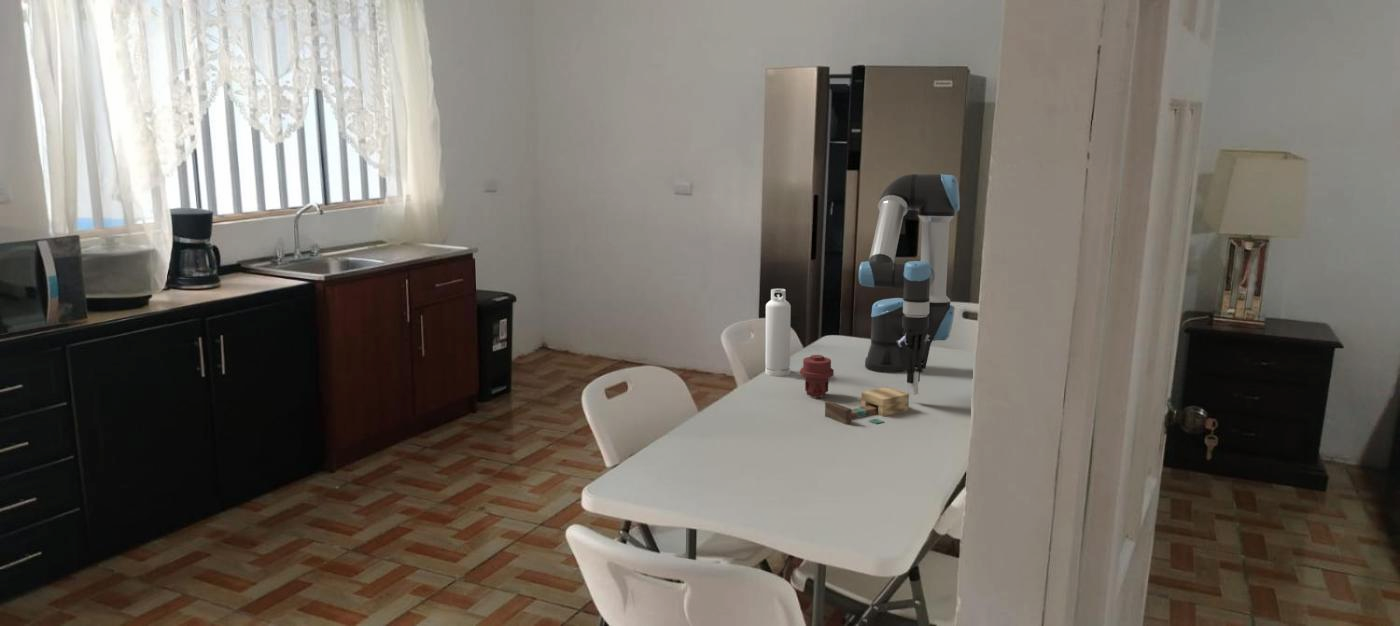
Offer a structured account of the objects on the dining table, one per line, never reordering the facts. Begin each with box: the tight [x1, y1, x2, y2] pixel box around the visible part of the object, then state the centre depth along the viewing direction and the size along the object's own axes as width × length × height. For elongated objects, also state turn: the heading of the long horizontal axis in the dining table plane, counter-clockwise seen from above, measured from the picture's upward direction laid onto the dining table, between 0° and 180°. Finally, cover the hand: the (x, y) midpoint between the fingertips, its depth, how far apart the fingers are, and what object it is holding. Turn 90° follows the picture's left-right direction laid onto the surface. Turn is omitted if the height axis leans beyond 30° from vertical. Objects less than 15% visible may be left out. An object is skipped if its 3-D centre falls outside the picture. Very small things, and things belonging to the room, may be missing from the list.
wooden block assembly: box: [824, 401, 885, 425], centre depth 278 cm, size 24×18×4 cm
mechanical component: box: [799, 354, 834, 399], centre depth 295 cm, size 12×10×10 cm
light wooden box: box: [860, 386, 910, 417], centre depth 281 cm, size 10×9×5 cm
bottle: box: [764, 288, 792, 377], centre depth 319 cm, size 8×8×28 cm
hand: (912, 393), depth 286 cm, fingers closed
